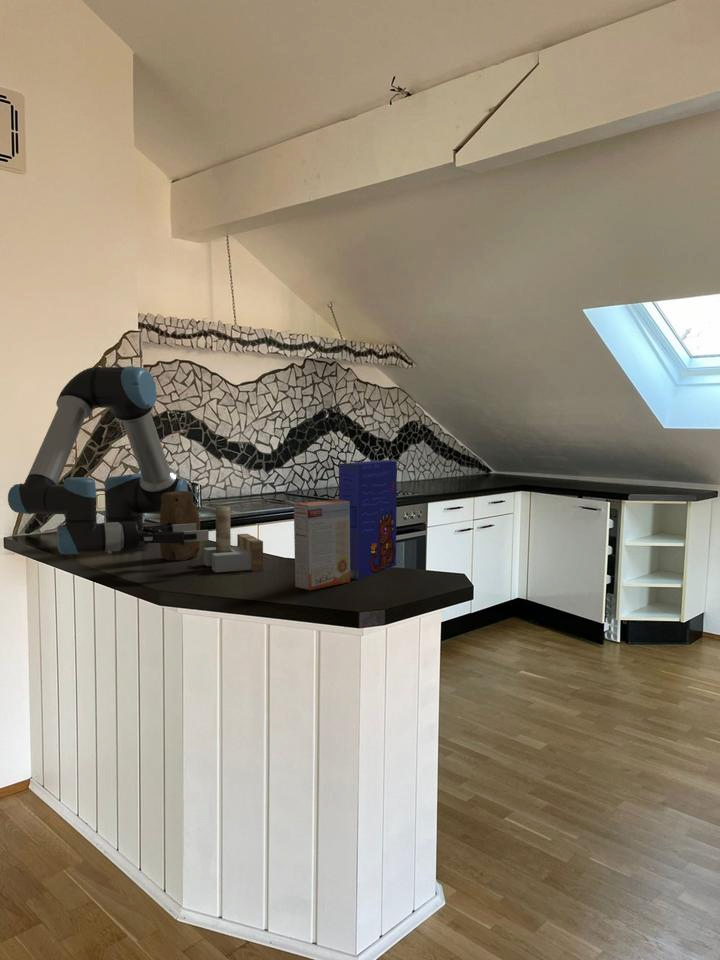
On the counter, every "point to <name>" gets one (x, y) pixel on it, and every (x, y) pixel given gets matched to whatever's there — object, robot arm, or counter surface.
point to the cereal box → (370, 514)
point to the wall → (252, 549)
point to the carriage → (228, 559)
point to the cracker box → (322, 544)
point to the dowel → (223, 529)
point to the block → (179, 512)
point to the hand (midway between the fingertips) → (202, 531)
